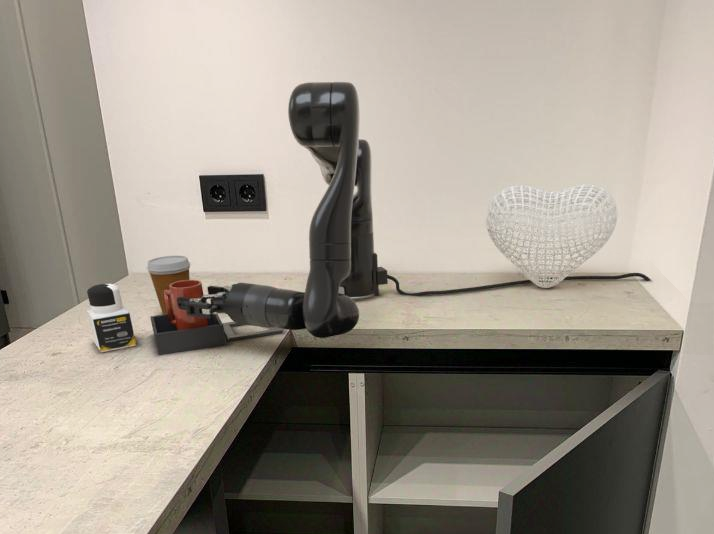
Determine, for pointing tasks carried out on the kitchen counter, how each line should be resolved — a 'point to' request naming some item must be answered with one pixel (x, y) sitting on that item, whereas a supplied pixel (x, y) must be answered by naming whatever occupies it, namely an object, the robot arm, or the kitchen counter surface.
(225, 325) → the hollow square frame
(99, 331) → the medicine bottle
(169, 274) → the disposable coffee cup
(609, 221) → the heart
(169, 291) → the red mug
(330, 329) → the robot arm
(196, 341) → the grey square storage bin
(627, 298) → the kitchen counter surface
